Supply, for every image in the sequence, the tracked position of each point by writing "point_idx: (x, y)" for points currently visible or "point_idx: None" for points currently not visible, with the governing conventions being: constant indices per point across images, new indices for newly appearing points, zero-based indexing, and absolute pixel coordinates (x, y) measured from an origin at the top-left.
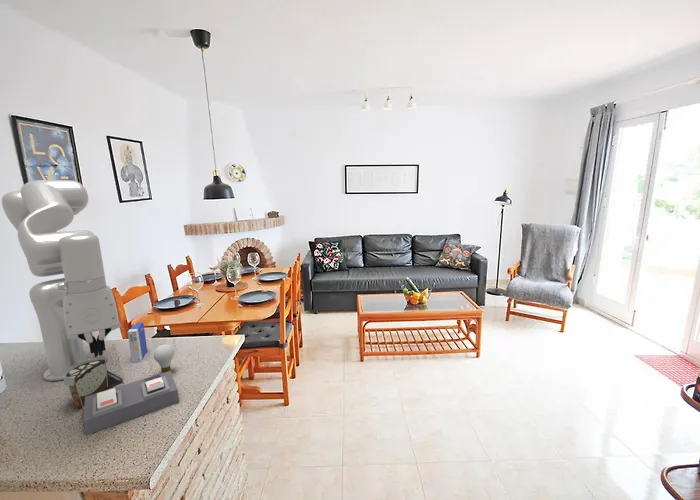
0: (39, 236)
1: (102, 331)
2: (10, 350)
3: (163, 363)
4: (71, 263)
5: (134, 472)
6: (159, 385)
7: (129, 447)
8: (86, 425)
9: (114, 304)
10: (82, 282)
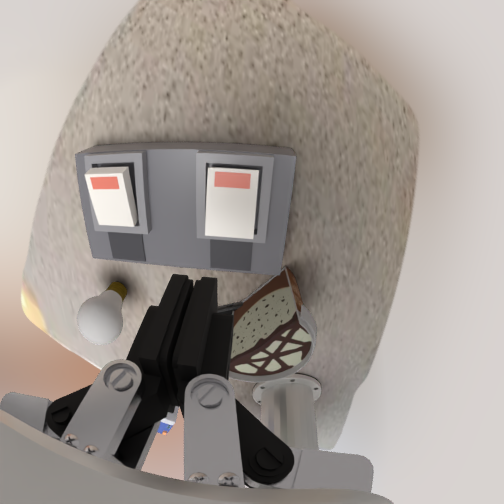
0: None
1: (87, 426)
2: (332, 442)
3: (108, 297)
4: None
5: None
6: (97, 171)
7: (211, 33)
8: (289, 152)
9: None
10: None
